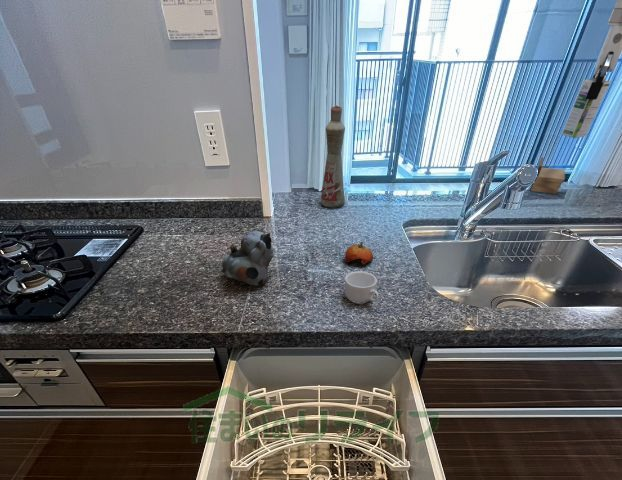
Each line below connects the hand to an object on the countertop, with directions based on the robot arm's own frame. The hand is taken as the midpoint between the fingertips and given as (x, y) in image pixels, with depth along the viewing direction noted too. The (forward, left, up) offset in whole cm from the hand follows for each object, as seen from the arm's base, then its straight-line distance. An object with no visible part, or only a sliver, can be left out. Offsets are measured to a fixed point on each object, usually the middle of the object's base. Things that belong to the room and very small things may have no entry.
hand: (590, 96), depth 119 cm
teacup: (+39, +103, -28) cm, 114 cm away
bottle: (+71, +47, -28) cm, 89 cm away
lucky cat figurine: (+71, +105, -28) cm, 130 cm away
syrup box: (0, 0, -11) cm, 11 cm away
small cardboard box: (+2, -3, -28) cm, 28 cm away
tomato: (+47, +84, -28) cm, 100 cm away
